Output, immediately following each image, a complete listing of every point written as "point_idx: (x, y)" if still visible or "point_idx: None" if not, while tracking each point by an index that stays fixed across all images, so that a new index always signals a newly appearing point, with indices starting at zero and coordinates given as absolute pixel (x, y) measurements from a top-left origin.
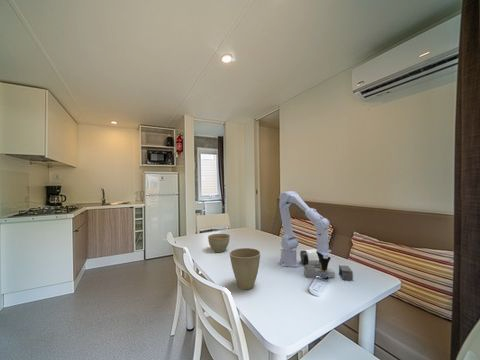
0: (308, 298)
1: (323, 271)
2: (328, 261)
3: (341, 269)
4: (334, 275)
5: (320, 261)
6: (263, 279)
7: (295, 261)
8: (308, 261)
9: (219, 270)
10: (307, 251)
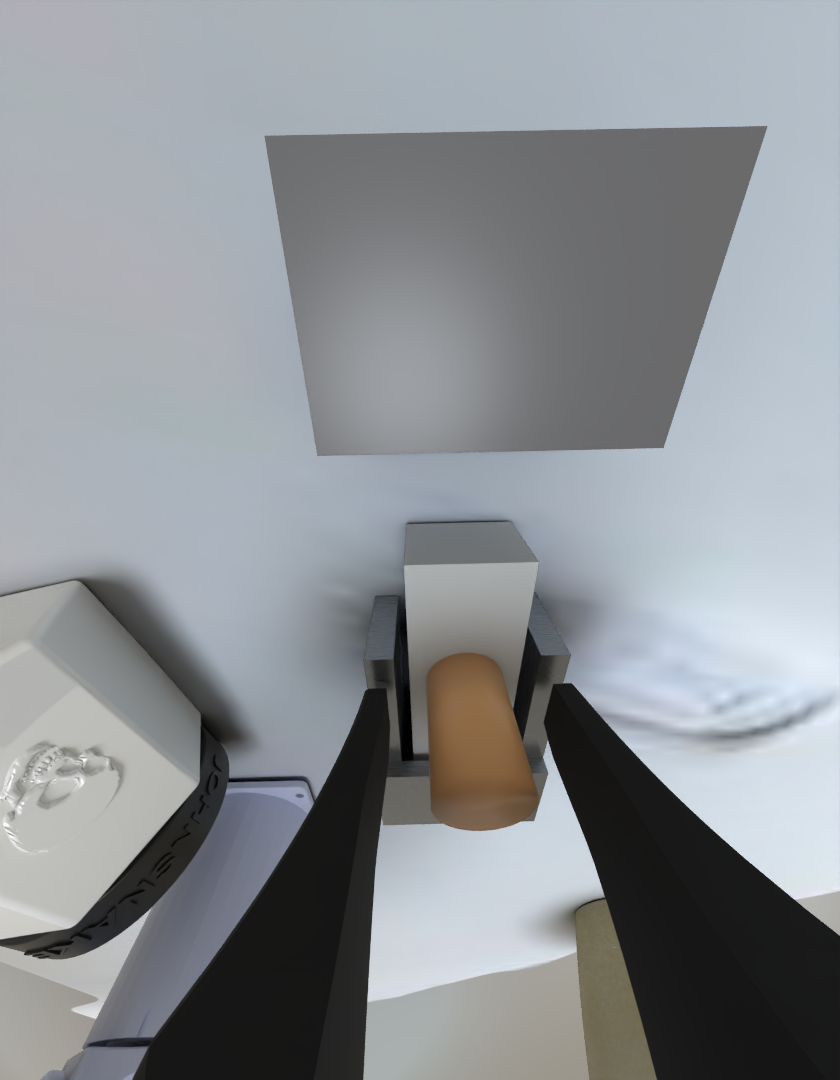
0: (833, 740)
1: (550, 694)
2: (789, 904)
3: (554, 449)
4: (518, 536)
5: (624, 916)
6: (545, 881)
7: (264, 840)
8: (197, 765)
9: (457, 963)
10: (18, 931)
